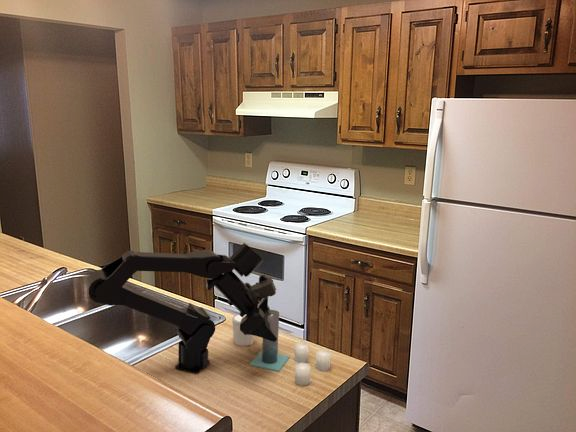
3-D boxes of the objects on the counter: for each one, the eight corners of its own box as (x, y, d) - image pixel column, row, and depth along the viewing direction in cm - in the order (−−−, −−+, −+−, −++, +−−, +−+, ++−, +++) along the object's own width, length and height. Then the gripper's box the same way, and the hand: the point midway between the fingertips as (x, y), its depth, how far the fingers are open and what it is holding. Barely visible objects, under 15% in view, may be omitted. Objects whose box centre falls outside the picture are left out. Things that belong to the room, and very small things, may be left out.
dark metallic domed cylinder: (259, 362, 125) (261, 314, 123) (265, 355, 129) (266, 308, 126) (274, 365, 124) (276, 317, 121) (279, 358, 128) (281, 311, 125)
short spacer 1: (292, 361, 127) (293, 347, 126) (296, 355, 131) (297, 341, 130) (305, 364, 126) (306, 349, 125) (309, 358, 129) (310, 344, 129)
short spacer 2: (296, 386, 116) (296, 370, 115) (293, 378, 119) (294, 363, 118) (311, 385, 116) (311, 369, 115) (308, 377, 119) (308, 362, 119)
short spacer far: (314, 369, 124) (314, 354, 123) (317, 363, 127) (318, 348, 126) (327, 372, 123) (328, 357, 122) (331, 365, 126) (332, 351, 125)
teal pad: (249, 365, 124) (249, 363, 124) (261, 351, 132) (261, 350, 132) (279, 371, 122) (279, 370, 122) (289, 357, 129) (289, 356, 129)
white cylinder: (226, 342, 136) (227, 319, 135) (240, 333, 142) (240, 311, 141) (247, 349, 133) (248, 324, 132) (260, 339, 139) (261, 316, 138)
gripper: (255, 281, 113) (300, 327, 115) (259, 258, 131) (298, 299, 133) (220, 311, 114) (266, 357, 116) (229, 285, 132) (269, 325, 135)
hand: (276, 332), depth 125 cm, fingers open, 9 cm apart
